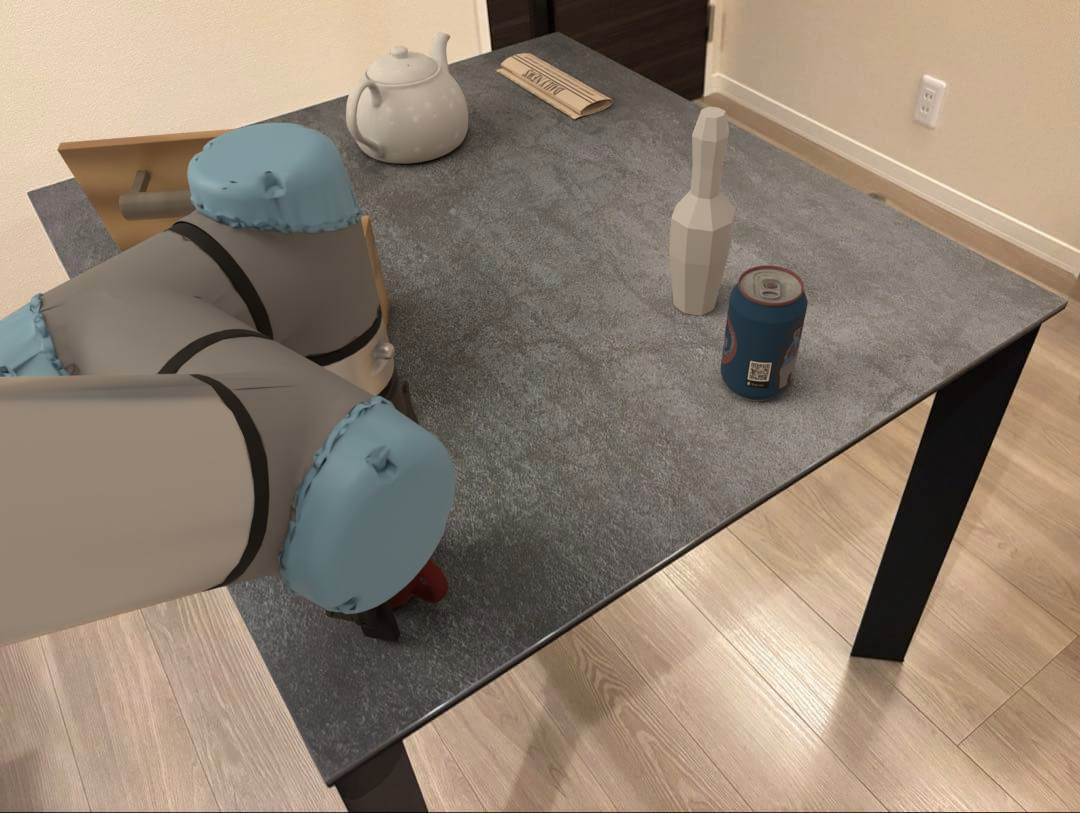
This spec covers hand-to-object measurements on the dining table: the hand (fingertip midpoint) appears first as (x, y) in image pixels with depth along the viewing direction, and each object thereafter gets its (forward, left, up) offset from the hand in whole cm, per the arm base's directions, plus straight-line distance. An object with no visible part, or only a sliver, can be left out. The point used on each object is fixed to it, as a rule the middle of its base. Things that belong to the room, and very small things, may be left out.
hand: (401, 587), depth 67 cm
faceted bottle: (+42, -19, -1) cm, 46 cm away
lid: (+14, +16, +22) cm, 30 cm away
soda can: (+30, -26, -1) cm, 40 cm away
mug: (0, 0, -1) cm, 1 cm away
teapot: (+75, +26, -1) cm, 79 cm away
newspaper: (+95, +9, -1) cm, 96 cm away
